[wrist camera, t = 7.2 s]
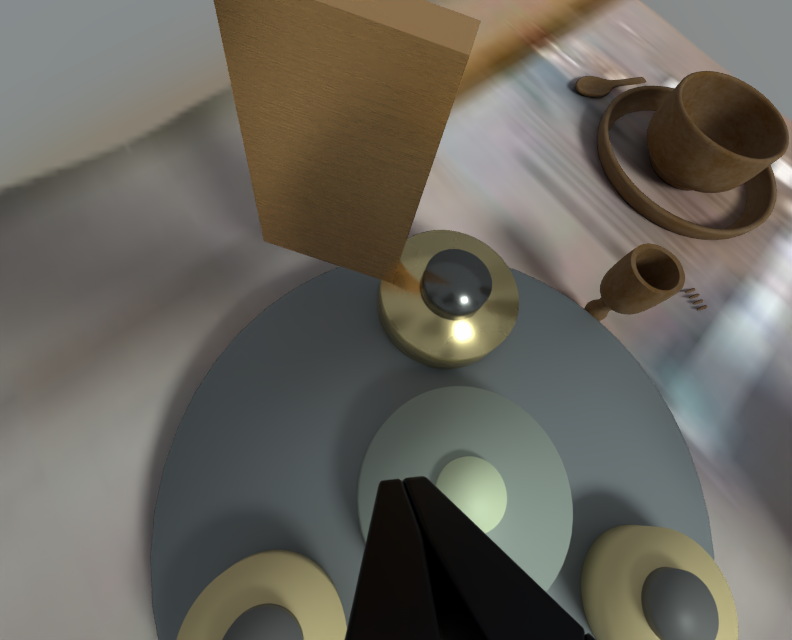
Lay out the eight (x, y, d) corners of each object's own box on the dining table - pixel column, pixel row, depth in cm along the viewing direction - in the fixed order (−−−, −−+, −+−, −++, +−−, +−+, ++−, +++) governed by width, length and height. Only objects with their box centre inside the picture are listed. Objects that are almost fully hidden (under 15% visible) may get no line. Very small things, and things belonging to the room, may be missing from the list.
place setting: (816, 260, 28) (935, 203, 22) (576, 364, 22) (660, 321, 16) (661, 71, 33) (728, -12, 28) (432, 114, 27) (461, 18, 22)
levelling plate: (502, 1095, 12) (567, 1302, 9) (27, 517, 15) (-47, 522, 12) (761, 478, 21) (840, 474, 17) (422, 192, 24) (438, 146, 21)
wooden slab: (513, 272, 21) (712, 40, 10) (492, 387, 18) (726, 236, 8) (297, 199, 20) (276, -121, 10) (245, 307, 18) (142, 33, 7)
